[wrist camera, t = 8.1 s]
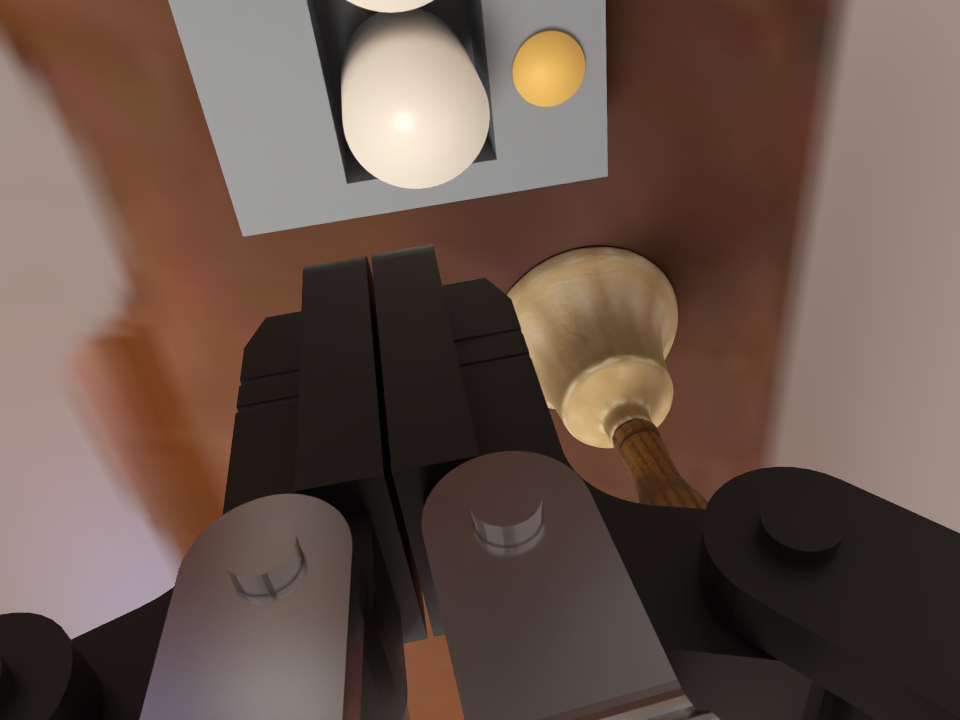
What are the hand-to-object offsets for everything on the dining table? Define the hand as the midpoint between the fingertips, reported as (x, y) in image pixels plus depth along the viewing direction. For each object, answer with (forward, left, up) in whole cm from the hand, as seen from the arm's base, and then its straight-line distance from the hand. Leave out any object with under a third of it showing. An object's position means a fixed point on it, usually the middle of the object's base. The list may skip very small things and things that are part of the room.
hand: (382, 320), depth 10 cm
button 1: (+3, +1, -17) cm, 18 cm away
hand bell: (+15, +7, -20) cm, 26 cm away
